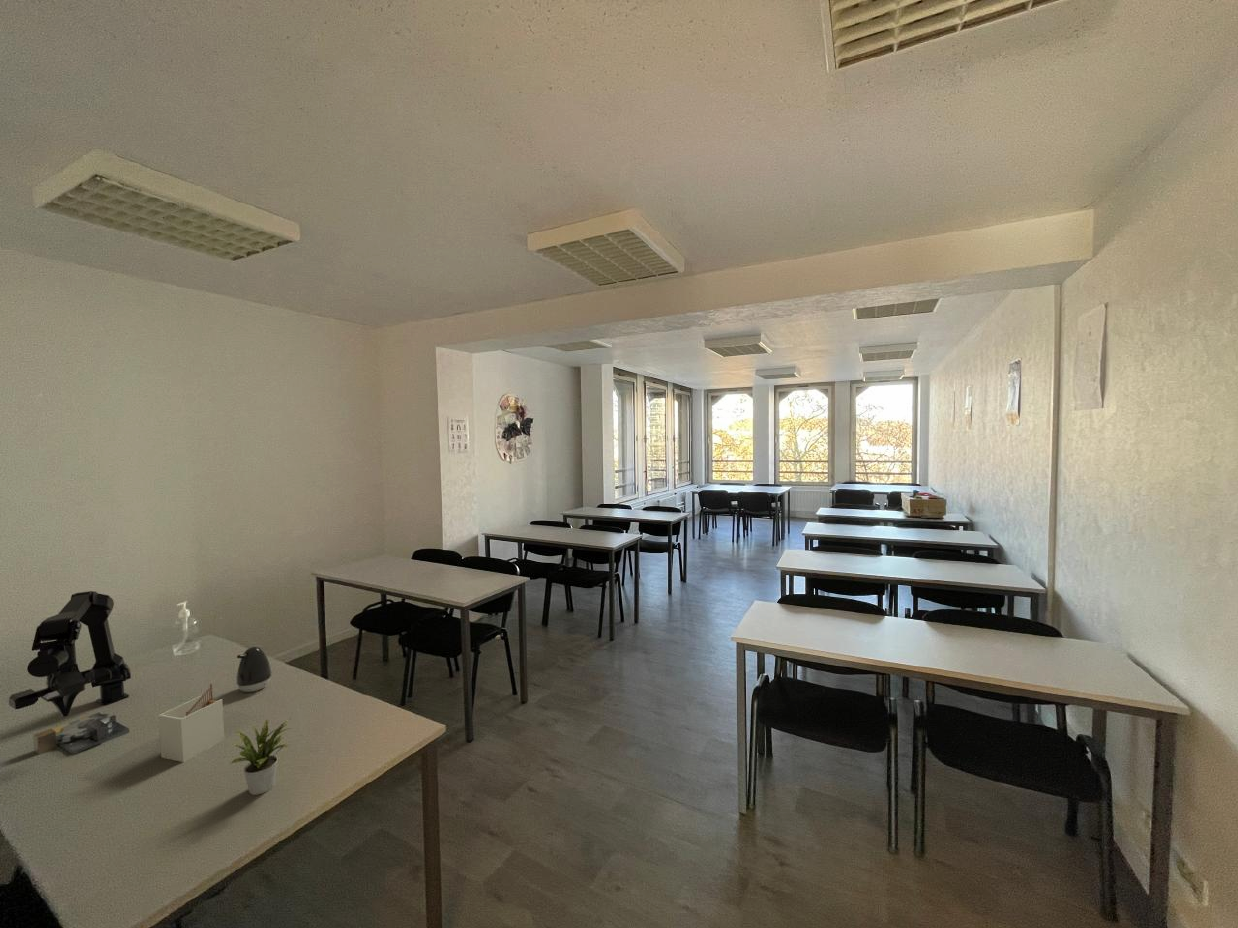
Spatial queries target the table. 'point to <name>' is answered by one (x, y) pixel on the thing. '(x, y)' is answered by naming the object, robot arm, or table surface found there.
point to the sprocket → (87, 728)
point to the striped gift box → (44, 741)
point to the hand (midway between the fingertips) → (65, 715)
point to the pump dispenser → (253, 670)
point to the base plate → (89, 742)
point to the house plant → (260, 759)
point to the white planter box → (191, 728)
